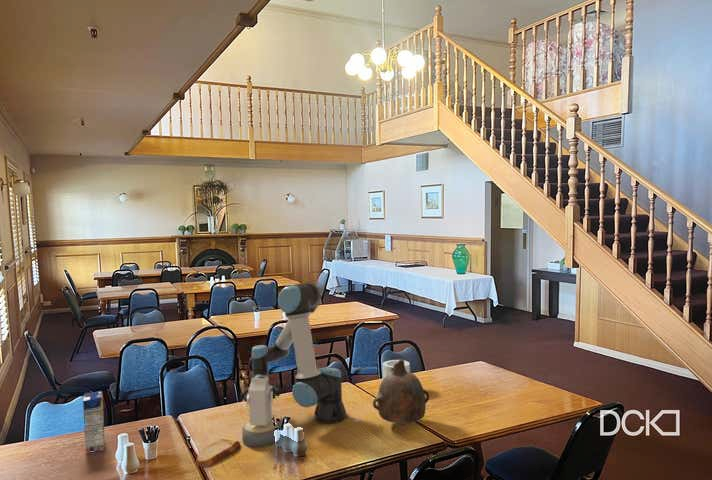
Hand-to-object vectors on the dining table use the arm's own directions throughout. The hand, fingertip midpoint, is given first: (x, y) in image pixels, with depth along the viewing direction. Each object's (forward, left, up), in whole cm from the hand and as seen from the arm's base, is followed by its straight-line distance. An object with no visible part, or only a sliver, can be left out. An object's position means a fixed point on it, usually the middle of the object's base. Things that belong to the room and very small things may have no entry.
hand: (259, 401), depth 205 cm
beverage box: (+68, +22, -18) cm, 74 cm away
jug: (-52, -34, -18) cm, 64 cm away
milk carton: (+2, -4, -11) cm, 12 cm away
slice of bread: (+12, +13, -19) cm, 26 cm away
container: (-37, -79, -18) cm, 89 cm away
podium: (+2, -4, -18) cm, 19 cm away
